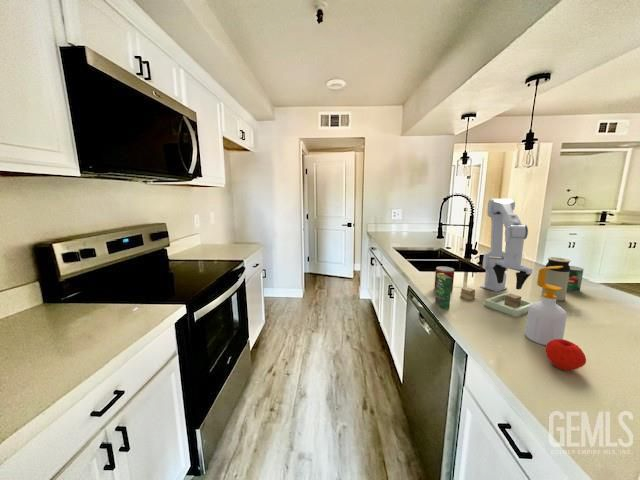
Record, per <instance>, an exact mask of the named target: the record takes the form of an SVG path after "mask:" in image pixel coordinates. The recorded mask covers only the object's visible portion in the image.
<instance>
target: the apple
mask: <svg viewBox="0 0 640 480" xmlns="http://www.w3.org/2000/svg"><path fill="white" fill-rule="evenodd" d="M544 350H545V354H546V357H547V359H548V361H550V363H551V364H552V365H553V366H554V367H556V368H558V369H560V370H562V371H568V372H569V371H575V370H578V369H579V368H582V367H584V366H585V365H586V363H587V358H586V354H585V353H584V352H583V350H582V348H581V347H580V346H579V345H577V344H575V343H574V342H571V341H569V340H566V339H564V338H563V339H555V340H552V341H550V342H548V343H547V345H546V346H545V349H544Z"/></svg>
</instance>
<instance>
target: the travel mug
mask: <svg viewBox="0 0 640 480" xmlns="http://www.w3.org/2000/svg"><path fill="white" fill-rule="evenodd" d="M547 260H548V262H547V263H545V268H546V267H550V266H563V267H562V268H559V269H547V271H546V277H545V282H546V284H549V285H554V286H558V287H561V288H562V290H559V291H556V292H554V294H553V295H555V296H556V297H557V298H556V302H561V301H565V299H566V294H567V291H566V290H567V284H568V278H569V272H570V266H571V265H570V263H571V261H572V260H570V259H568V258H565V257H559V256H557V257H556V256H548V257H547ZM541 288H542V287H541ZM546 292H547V291H546V290H545V288H542V289H541V296H543V294H546Z"/></svg>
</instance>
